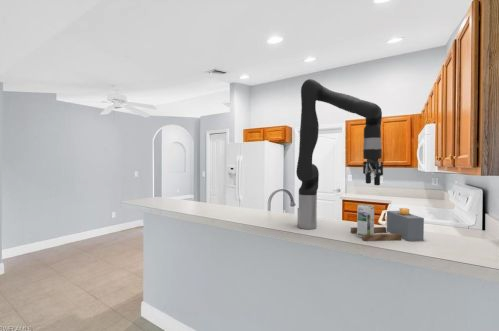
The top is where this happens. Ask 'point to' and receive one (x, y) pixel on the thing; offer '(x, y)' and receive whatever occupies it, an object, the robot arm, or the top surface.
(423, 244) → the top surface
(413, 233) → the end cabinet
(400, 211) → the gauge button
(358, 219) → the syrup box
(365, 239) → the guide rails
